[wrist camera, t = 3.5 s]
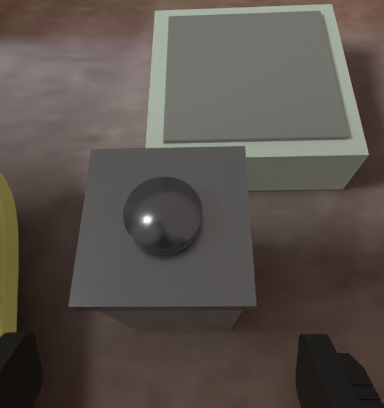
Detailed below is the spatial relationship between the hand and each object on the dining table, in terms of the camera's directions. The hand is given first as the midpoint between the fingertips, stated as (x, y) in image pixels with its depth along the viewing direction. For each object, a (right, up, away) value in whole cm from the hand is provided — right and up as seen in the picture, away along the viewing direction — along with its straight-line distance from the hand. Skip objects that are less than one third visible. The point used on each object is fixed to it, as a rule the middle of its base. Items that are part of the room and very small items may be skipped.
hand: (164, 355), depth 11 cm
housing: (0, 0, +10) cm, 10 cm away
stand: (+4, +11, +14) cm, 19 cm away
